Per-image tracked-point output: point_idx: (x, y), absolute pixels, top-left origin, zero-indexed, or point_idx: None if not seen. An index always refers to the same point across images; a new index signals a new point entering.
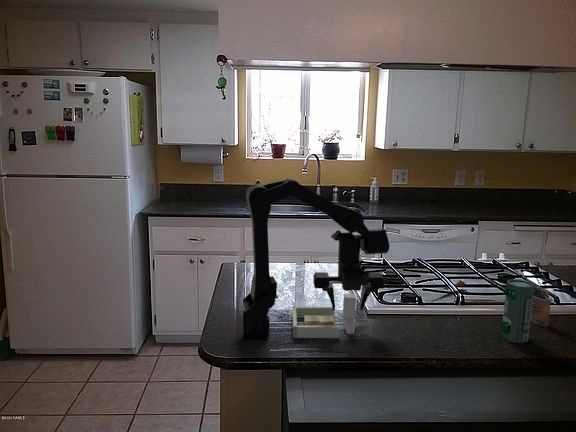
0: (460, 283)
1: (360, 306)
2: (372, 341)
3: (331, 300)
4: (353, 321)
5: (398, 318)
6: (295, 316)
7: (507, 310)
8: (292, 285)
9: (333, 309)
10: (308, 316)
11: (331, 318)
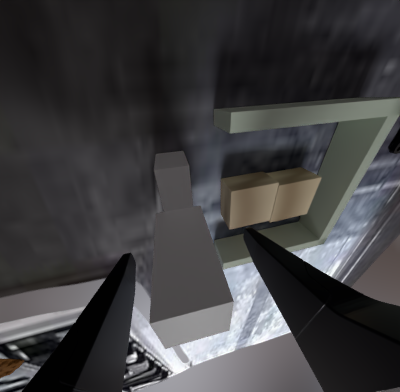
0: None
1: (131, 274)
2: (57, 77)
3: (299, 261)
4: (161, 188)
5: (24, 278)
6: (348, 191)
7: None
8: (264, 311)
9: (253, 229)
10: (299, 210)
11: (237, 211)
